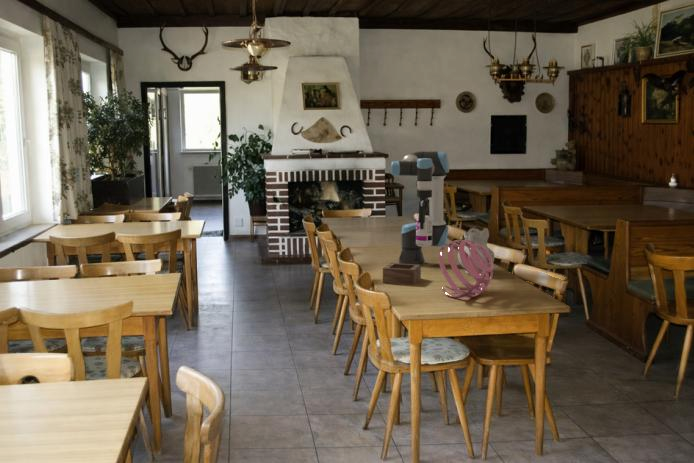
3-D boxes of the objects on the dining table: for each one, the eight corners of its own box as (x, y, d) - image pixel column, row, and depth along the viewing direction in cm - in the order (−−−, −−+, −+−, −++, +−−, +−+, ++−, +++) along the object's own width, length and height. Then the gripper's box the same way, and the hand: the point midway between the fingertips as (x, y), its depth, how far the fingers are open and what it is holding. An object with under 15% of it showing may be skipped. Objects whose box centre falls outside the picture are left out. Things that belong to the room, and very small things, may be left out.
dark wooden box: (391, 276, 404) (391, 262, 403) (420, 278, 399) (420, 264, 398) (382, 282, 389) (382, 268, 388) (413, 284, 384) (413, 270, 383)
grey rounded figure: (492, 280, 400) (497, 233, 397) (454, 275, 404) (459, 229, 400) (492, 272, 421) (497, 227, 418) (457, 268, 425) (461, 224, 421)
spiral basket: (413, 253, 361) (456, 225, 346) (449, 260, 381) (491, 233, 366) (432, 307, 349) (477, 280, 334) (467, 310, 369) (512, 285, 354)
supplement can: (419, 247, 381) (419, 217, 379) (413, 244, 389) (413, 215, 387) (434, 246, 384) (435, 216, 381) (428, 243, 391) (428, 214, 389)
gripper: (421, 187, 393) (421, 231, 396) (412, 191, 373) (412, 237, 377) (436, 187, 391) (435, 231, 394) (427, 191, 371) (427, 237, 374)
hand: (424, 234), depth 385 cm, fingers closed on supplement can, 8 cm apart
